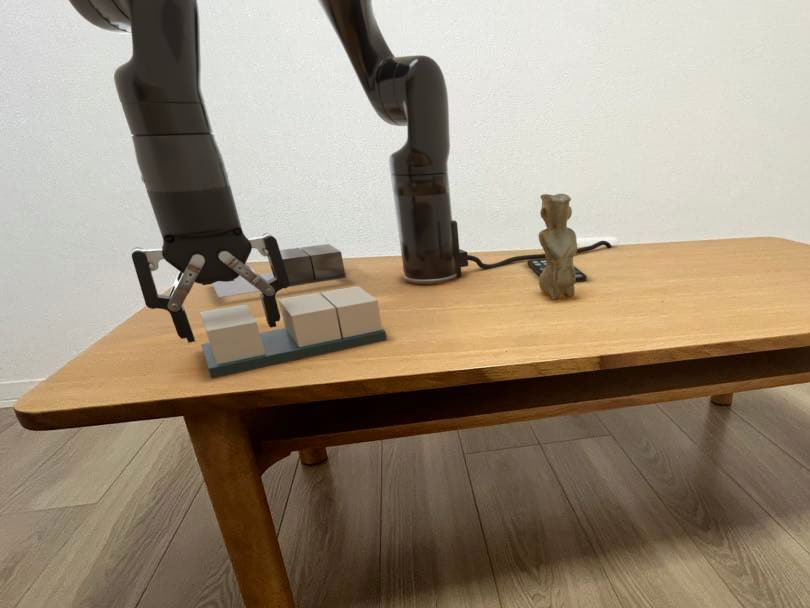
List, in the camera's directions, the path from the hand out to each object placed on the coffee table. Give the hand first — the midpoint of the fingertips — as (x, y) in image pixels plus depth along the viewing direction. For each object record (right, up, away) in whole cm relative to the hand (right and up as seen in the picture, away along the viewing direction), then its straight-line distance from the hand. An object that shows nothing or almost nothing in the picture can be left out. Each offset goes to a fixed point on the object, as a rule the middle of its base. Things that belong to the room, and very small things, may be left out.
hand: (233, 332), depth 63 cm
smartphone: (+39, +16, +35) cm, 55 cm away
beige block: (0, -2, +1) cm, 2 cm away
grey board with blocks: (-9, +12, +30) cm, 33 cm away
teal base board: (+5, -1, +5) cm, 7 cm away
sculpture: (+39, +9, +22) cm, 46 cm away
